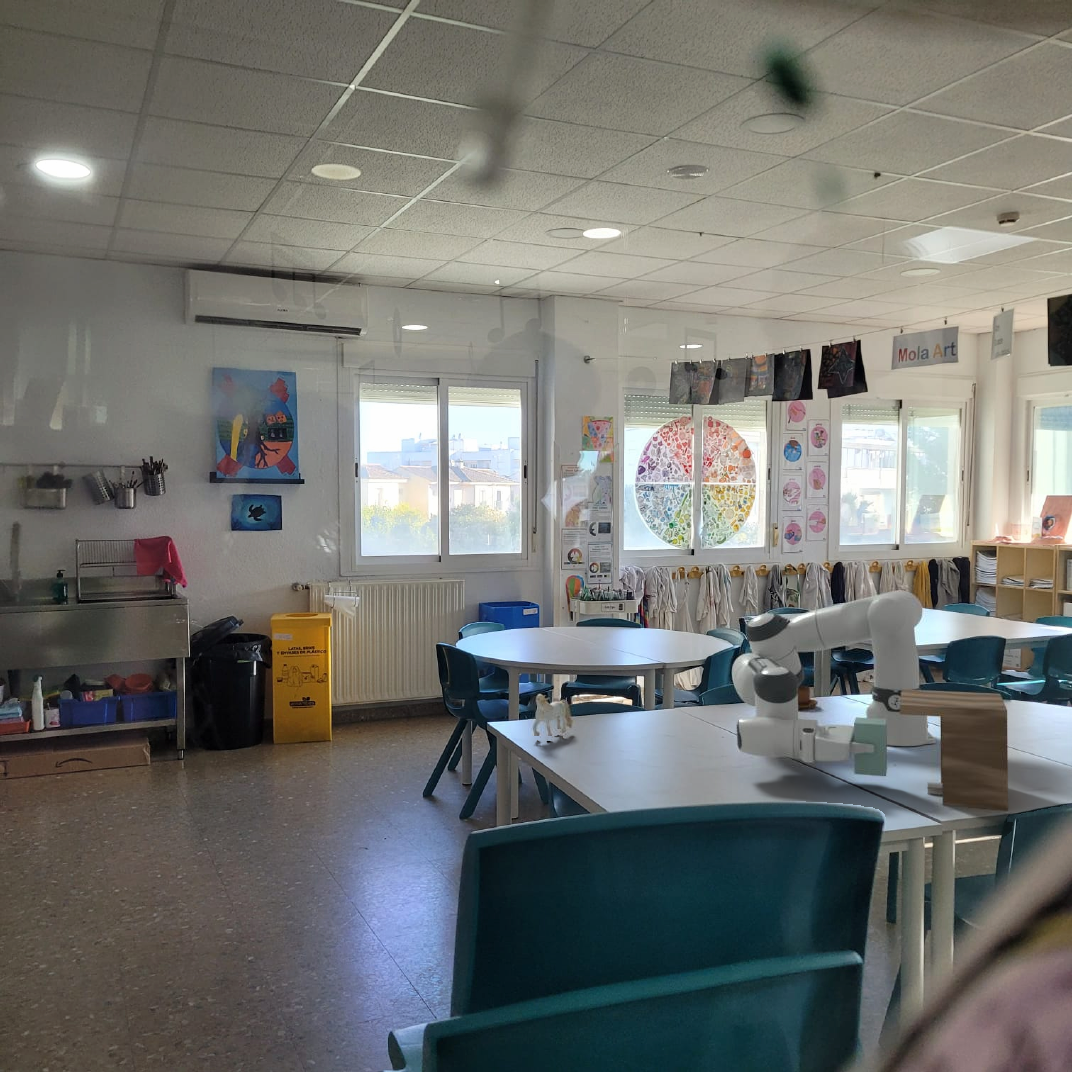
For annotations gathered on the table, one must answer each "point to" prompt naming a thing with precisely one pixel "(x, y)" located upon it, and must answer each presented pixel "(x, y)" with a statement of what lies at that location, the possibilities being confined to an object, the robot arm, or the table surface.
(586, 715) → the table surface
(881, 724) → the upright mint green block
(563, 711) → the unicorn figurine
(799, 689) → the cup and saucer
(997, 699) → the cubby
